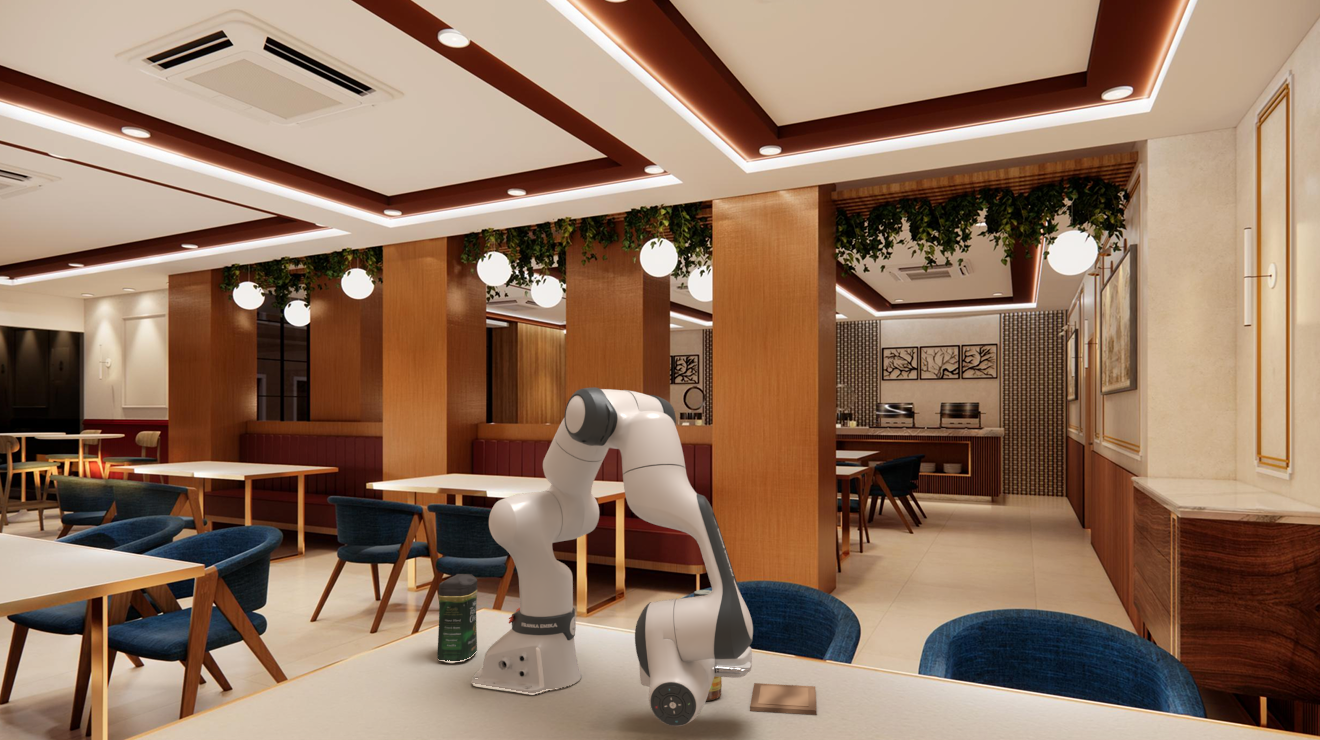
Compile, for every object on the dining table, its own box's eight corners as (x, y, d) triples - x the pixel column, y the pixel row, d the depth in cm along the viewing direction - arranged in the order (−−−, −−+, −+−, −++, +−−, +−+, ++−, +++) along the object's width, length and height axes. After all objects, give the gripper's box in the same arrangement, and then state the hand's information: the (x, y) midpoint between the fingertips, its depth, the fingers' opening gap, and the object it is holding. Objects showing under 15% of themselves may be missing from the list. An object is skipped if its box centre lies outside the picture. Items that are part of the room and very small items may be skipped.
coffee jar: (467, 665, 162) (467, 580, 163) (432, 665, 163) (433, 580, 164) (481, 651, 172) (482, 571, 173) (449, 651, 172) (449, 571, 174)
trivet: (750, 710, 135) (750, 705, 135) (754, 687, 146) (754, 682, 146) (816, 714, 132) (816, 709, 132) (815, 690, 144) (815, 685, 144)
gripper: (750, 653, 123) (755, 629, 136) (631, 647, 127) (648, 624, 140) (750, 691, 122) (756, 664, 136) (632, 684, 126) (648, 658, 140)
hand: (700, 643), depth 138 cm, fingers open, 8 cm apart
